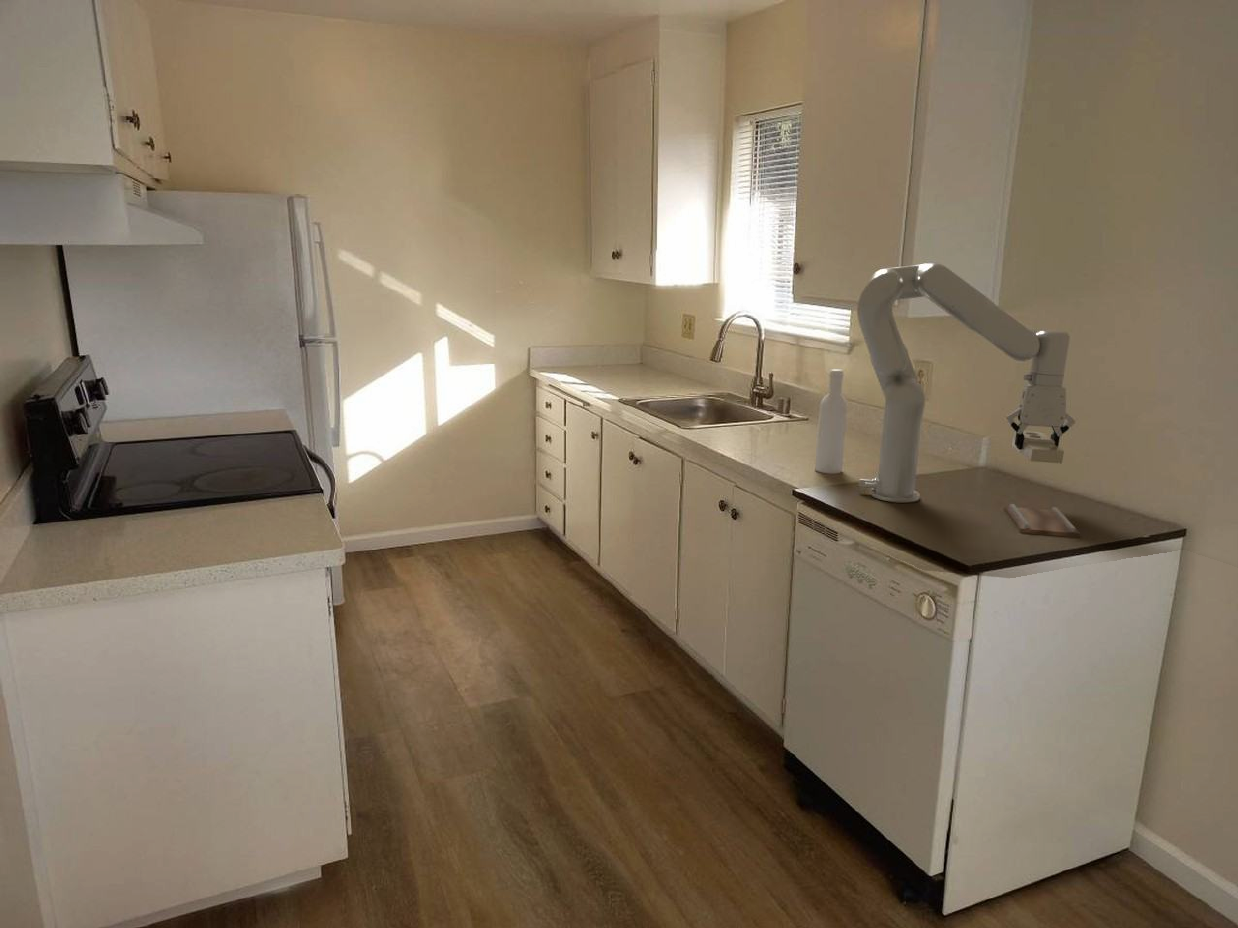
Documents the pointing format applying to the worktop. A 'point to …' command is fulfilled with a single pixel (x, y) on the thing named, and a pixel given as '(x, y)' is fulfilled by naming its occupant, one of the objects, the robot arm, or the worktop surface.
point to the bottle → (832, 427)
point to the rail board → (1041, 521)
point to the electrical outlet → (1039, 448)
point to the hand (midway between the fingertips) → (1035, 449)
